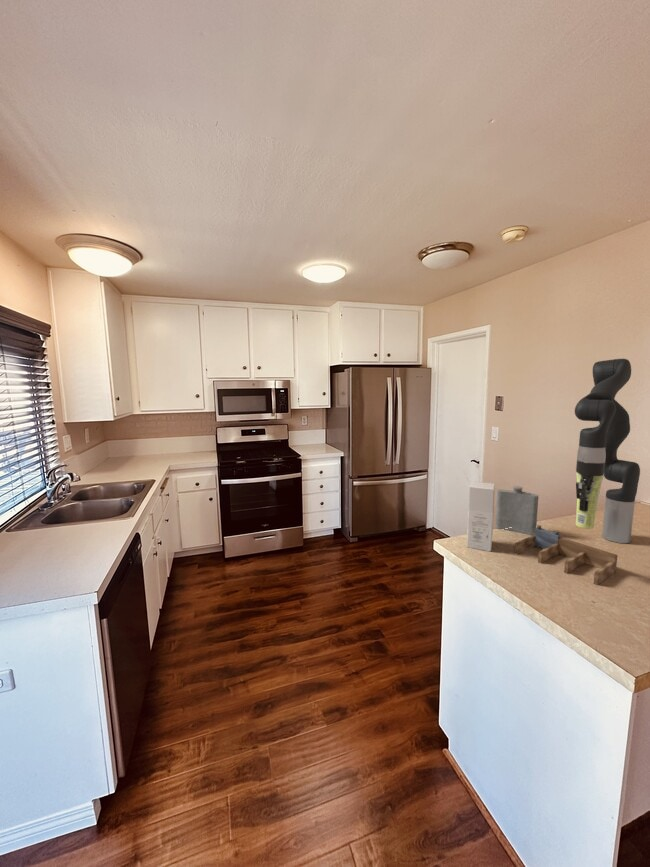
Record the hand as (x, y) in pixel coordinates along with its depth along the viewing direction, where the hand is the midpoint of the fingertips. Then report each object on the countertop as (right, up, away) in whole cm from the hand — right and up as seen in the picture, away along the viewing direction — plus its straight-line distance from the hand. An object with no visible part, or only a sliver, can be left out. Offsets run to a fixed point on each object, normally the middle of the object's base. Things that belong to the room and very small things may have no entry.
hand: (586, 508), depth 120 cm
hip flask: (-4, -18, +37) cm, 41 cm away
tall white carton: (-26, -20, +23) cm, 40 cm away
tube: (0, -7, +1) cm, 7 cm away
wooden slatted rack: (-2, -21, +9) cm, 23 cm away
